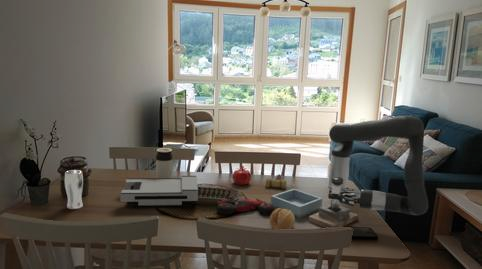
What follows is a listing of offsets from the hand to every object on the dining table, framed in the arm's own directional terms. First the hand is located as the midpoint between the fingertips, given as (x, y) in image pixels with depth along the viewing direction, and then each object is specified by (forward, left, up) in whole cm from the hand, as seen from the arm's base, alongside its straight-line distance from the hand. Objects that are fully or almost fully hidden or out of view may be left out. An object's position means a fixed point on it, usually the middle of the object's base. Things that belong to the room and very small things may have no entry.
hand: (328, 194), depth 160 cm
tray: (+1, -16, -11) cm, 19 cm away
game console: (+42, -60, -11) cm, 74 cm away
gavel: (-20, -44, -12) cm, 50 cm away
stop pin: (-1, +2, -9) cm, 9 cm away
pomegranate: (-3, -55, -11) cm, 56 cm away
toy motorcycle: (+19, -29, -12) cm, 37 cm away
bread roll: (+23, -5, -11) cm, 26 cm away
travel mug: (+30, -77, -11) cm, 83 cm away
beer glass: (+75, -75, -11) cm, 106 cm away
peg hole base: (-1, +2, -11) cm, 11 cm away
